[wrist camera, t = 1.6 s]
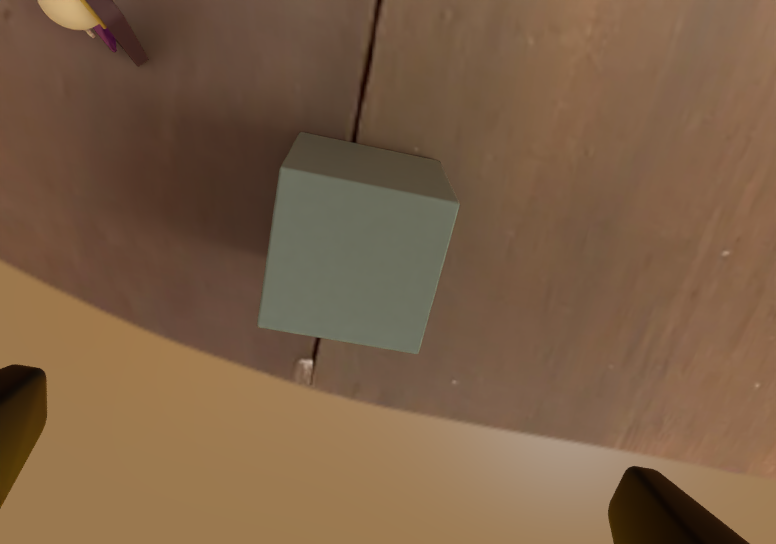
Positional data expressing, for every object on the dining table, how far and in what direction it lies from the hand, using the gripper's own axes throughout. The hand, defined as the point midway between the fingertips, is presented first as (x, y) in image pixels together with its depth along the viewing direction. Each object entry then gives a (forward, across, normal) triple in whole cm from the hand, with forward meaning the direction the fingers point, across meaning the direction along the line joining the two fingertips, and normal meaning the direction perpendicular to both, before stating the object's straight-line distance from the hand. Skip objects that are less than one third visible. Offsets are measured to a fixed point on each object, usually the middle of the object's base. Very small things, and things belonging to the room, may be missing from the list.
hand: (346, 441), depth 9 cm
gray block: (+11, 0, 0) cm, 11 cm away
